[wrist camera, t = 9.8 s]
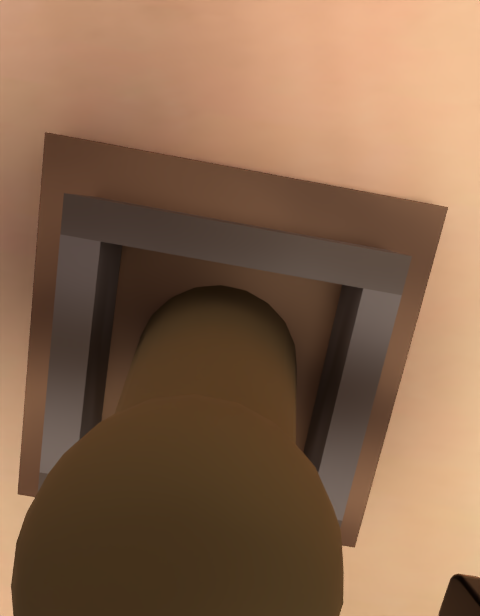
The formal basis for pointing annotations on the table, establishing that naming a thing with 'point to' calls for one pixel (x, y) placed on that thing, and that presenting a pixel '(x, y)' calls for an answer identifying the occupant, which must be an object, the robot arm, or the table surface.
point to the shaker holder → (228, 272)
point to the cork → (189, 483)
